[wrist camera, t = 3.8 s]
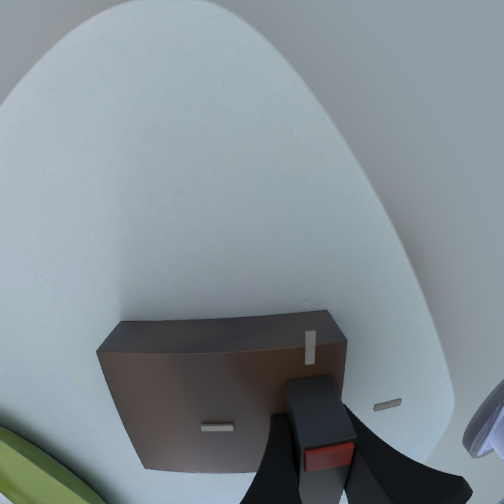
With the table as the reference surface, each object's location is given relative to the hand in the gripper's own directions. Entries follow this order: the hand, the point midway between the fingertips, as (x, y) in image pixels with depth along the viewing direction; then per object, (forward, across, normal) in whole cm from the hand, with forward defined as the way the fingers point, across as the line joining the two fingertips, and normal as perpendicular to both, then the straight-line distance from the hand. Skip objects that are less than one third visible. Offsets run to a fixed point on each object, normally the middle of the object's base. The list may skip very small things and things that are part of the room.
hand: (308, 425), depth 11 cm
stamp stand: (+3, +2, 0) cm, 4 cm away
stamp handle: (0, 0, 0) cm, 0 cm away
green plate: (+4, +25, +15) cm, 30 cm away
